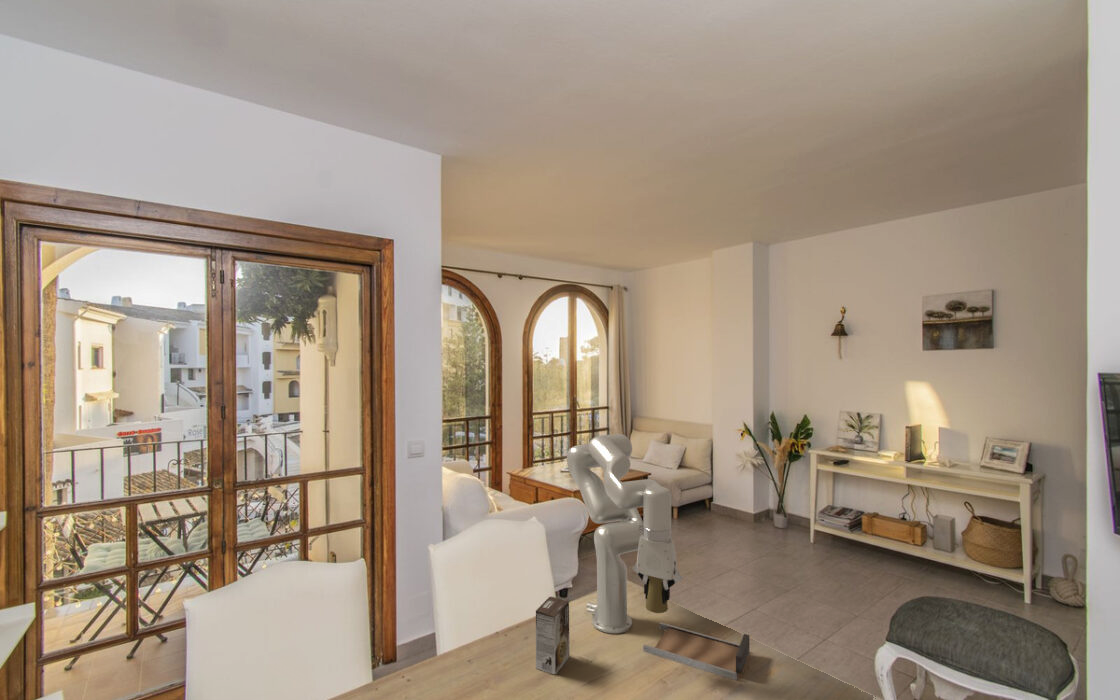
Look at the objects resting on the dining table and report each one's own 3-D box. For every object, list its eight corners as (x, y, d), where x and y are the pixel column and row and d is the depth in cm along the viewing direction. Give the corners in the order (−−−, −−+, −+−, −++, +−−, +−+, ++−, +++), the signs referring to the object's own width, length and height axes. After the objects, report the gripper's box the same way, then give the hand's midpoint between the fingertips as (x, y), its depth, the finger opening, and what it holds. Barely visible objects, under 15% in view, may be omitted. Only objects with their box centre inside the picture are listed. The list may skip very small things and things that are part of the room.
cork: (667, 614, 135) (668, 573, 135) (644, 611, 136) (645, 571, 136) (668, 603, 141) (668, 563, 140) (646, 600, 142) (646, 561, 142)
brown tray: (654, 651, 146) (654, 632, 146) (667, 631, 156) (667, 613, 156) (741, 678, 134) (741, 657, 134) (749, 654, 144) (749, 635, 144)
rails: (643, 651, 146) (643, 645, 146) (659, 627, 159) (659, 622, 159) (736, 680, 133) (736, 674, 133) (746, 651, 146) (746, 646, 146)
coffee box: (550, 651, 146) (549, 595, 146) (570, 657, 143) (570, 600, 143) (534, 669, 138) (534, 610, 138) (555, 675, 135) (555, 615, 135)
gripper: (623, 531, 139) (623, 597, 139) (683, 543, 131) (682, 614, 131) (633, 523, 146) (633, 586, 146) (691, 534, 137) (691, 601, 137)
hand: (656, 598), depth 138 cm, fingers closed on cork, 4 cm apart
